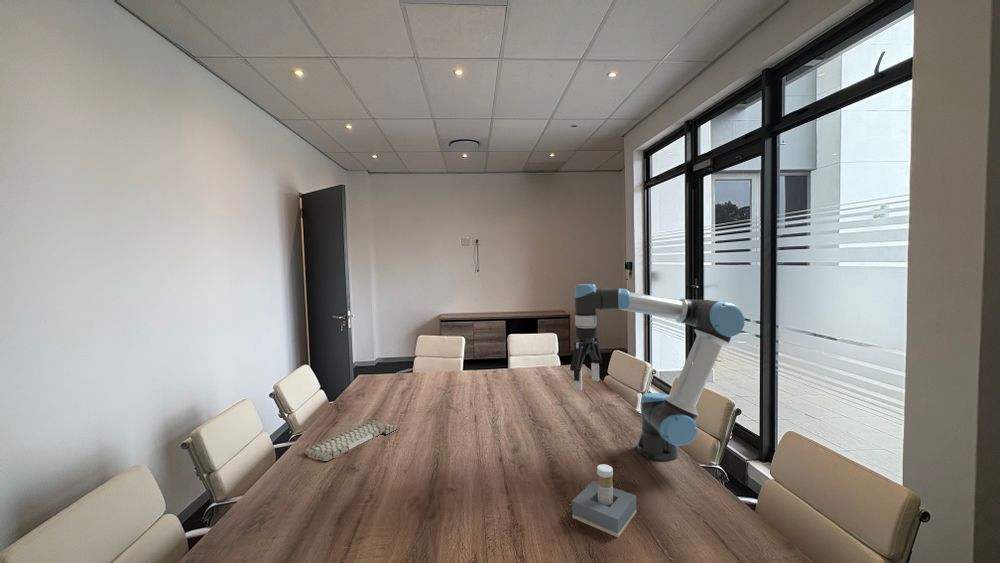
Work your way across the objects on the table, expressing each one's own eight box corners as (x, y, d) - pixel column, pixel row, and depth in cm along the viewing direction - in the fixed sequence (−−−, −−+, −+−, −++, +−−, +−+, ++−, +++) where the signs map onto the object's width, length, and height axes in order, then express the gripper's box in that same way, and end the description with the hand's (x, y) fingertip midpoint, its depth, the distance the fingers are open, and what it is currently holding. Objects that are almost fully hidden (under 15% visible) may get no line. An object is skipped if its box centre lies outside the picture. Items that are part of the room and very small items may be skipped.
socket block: (593, 495, 123) (593, 480, 123) (636, 512, 114) (636, 495, 114) (572, 517, 112) (572, 501, 112) (618, 537, 104) (617, 519, 103)
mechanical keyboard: (329, 467, 148) (329, 458, 148) (300, 457, 157) (300, 448, 157) (400, 431, 180) (400, 424, 180) (372, 424, 190) (372, 418, 190)
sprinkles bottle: (602, 505, 116) (601, 462, 116) (616, 511, 113) (615, 467, 113) (594, 512, 113) (594, 467, 113) (609, 518, 110) (608, 473, 110)
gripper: (591, 322, 149) (592, 375, 150) (559, 330, 130) (560, 391, 131) (610, 323, 145) (611, 378, 145) (578, 332, 125) (580, 395, 126)
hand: (587, 385), depth 138 cm, fingers open, 13 cm apart
